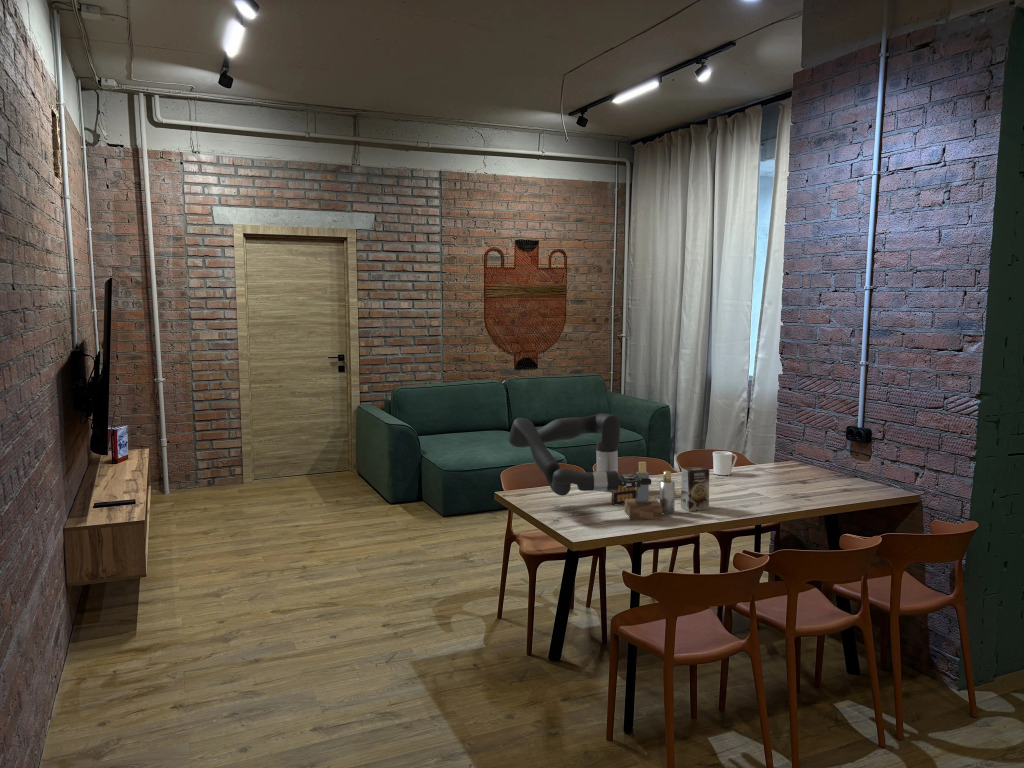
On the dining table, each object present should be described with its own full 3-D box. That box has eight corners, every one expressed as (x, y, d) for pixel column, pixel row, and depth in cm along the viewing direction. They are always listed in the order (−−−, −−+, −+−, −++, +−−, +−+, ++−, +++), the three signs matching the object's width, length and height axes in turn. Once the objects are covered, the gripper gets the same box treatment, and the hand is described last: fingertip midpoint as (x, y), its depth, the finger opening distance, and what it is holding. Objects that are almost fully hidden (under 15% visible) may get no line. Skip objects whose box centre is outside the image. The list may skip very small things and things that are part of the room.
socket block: (624, 511, 281) (624, 498, 281) (655, 510, 281) (655, 497, 281) (630, 520, 269) (630, 507, 269) (662, 519, 269) (662, 506, 269)
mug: (712, 476, 337) (712, 454, 336) (712, 471, 345) (712, 450, 344) (736, 477, 333) (737, 455, 332) (736, 472, 342) (736, 451, 341)
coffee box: (688, 511, 278) (689, 470, 277) (680, 507, 285) (680, 467, 283) (709, 509, 281) (709, 468, 279) (700, 505, 287) (701, 465, 286)
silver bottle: (658, 510, 281) (658, 470, 280) (672, 510, 281) (672, 469, 280) (661, 514, 276) (661, 473, 274) (676, 514, 276) (676, 473, 274)
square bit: (636, 502, 276) (636, 461, 275) (646, 502, 277) (646, 461, 275) (638, 505, 273) (638, 463, 271) (648, 504, 273) (648, 463, 271)
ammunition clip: (634, 501, 296) (634, 472, 295) (636, 502, 294) (636, 473, 293) (611, 504, 292) (611, 475, 291) (613, 505, 290) (613, 476, 289)
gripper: (602, 486, 281) (645, 485, 281) (607, 495, 267) (653, 494, 267) (602, 467, 280) (645, 466, 280) (607, 475, 266) (654, 474, 266)
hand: (649, 480), depth 274 cm, fingers closed on square bit, 4 cm apart
